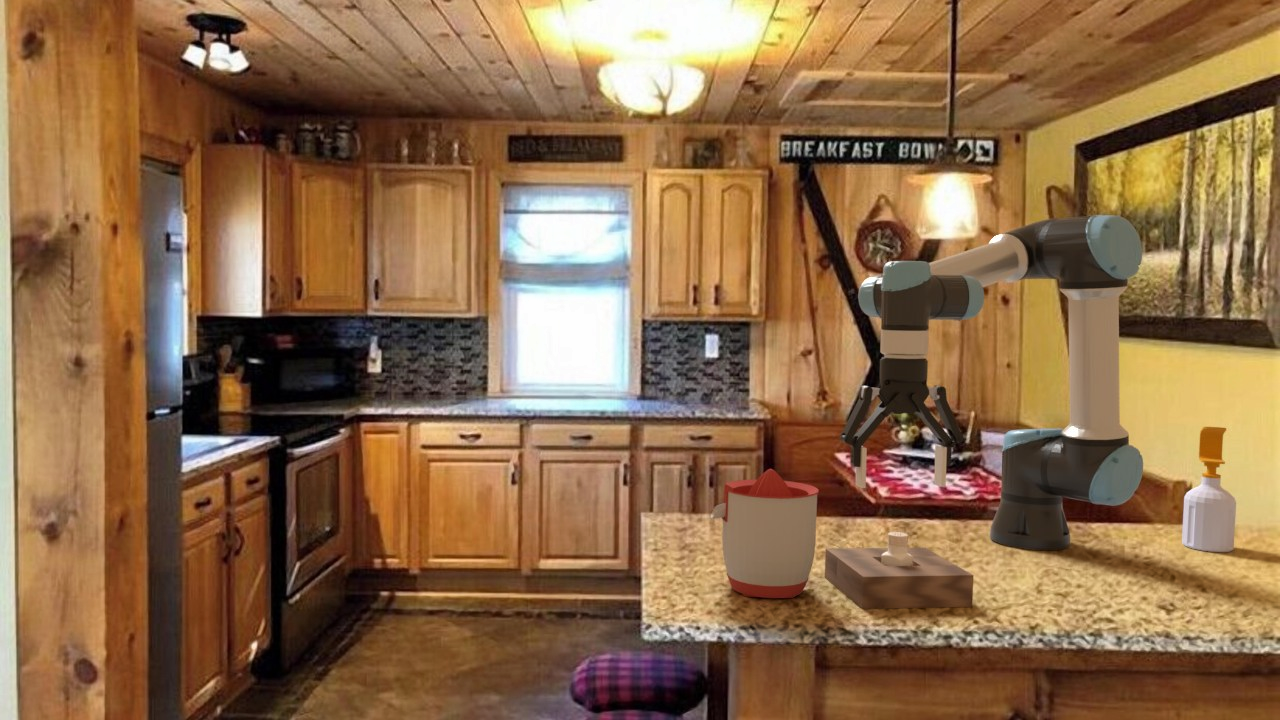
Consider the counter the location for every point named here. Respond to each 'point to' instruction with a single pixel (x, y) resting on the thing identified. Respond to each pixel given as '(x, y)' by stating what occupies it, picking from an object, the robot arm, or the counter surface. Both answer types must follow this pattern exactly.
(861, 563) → the socket block
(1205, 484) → the soap bottle
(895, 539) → the pepper shaker
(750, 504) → the citrus juicer
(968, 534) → the counter surface
